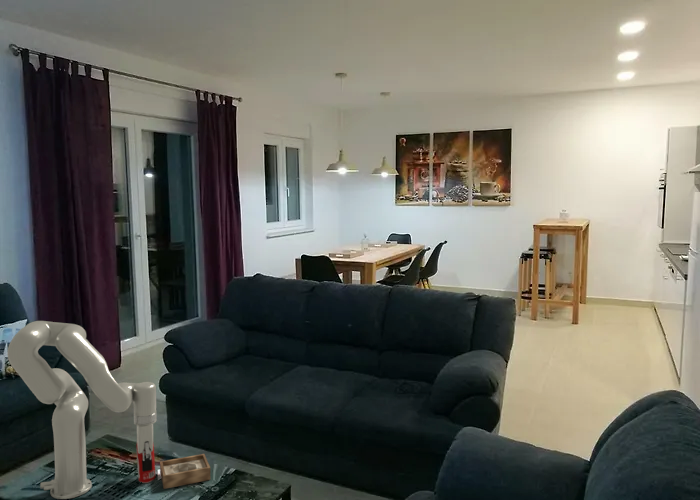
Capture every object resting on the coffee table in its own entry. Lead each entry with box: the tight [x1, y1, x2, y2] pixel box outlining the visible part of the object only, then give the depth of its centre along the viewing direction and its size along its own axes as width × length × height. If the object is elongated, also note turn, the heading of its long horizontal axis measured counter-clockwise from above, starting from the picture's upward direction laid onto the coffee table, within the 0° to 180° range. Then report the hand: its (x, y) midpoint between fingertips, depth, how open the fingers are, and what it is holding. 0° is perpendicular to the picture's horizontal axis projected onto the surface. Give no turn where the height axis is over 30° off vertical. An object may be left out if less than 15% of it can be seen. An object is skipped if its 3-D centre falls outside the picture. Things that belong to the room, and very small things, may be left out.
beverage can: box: [135, 442, 157, 484], centre depth 192 cm, size 6×6×15 cm
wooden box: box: [159, 453, 211, 490], centre depth 196 cm, size 16×12×4 cm
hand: (146, 464), depth 193 cm, fingers open, 8 cm apart
